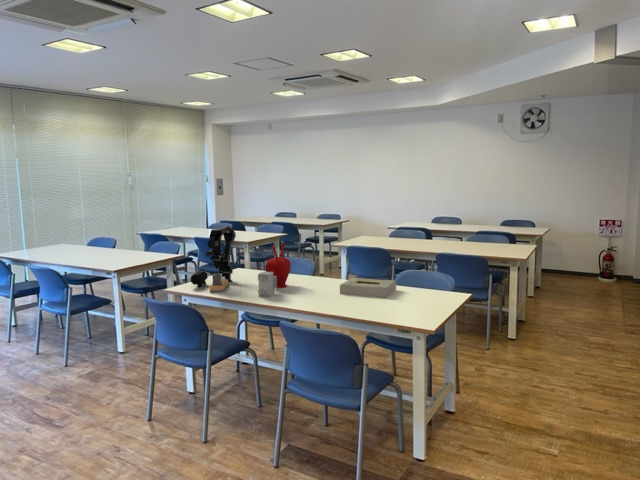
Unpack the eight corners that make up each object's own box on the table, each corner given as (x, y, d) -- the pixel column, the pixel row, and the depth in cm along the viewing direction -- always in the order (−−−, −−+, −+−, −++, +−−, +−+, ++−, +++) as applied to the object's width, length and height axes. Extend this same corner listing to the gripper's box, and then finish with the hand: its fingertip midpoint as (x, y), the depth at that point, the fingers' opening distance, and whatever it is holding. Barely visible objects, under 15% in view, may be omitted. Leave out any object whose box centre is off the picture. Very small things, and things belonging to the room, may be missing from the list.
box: (339, 295, 303) (387, 298, 290) (339, 283, 302) (387, 286, 289) (351, 288, 324) (396, 291, 312) (351, 277, 323) (396, 279, 311)
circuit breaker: (278, 292, 311) (277, 270, 309) (268, 297, 297) (268, 274, 295) (267, 291, 313) (267, 269, 311) (258, 296, 300) (257, 273, 298)
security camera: (209, 283, 342) (208, 270, 341) (200, 289, 324) (199, 275, 322) (200, 283, 343) (199, 270, 341) (190, 289, 324) (190, 275, 323)
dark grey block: (214, 287, 320) (214, 273, 319) (222, 287, 320) (221, 273, 319) (213, 289, 315) (212, 275, 314) (220, 289, 315) (219, 275, 314)
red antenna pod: (277, 282, 340) (276, 242, 336) (293, 283, 336) (292, 242, 332) (264, 289, 321) (263, 246, 317) (281, 290, 316) (280, 246, 313)
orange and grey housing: (216, 285, 334) (216, 276, 333) (228, 285, 334) (228, 275, 333) (209, 292, 313) (209, 282, 312) (222, 292, 313) (222, 282, 312)
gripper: (209, 244, 339) (210, 265, 341) (202, 248, 321) (203, 270, 323) (224, 244, 339) (225, 265, 341) (218, 248, 321) (219, 270, 323)
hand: (218, 267), depth 332 cm, fingers open, 9 cm apart
